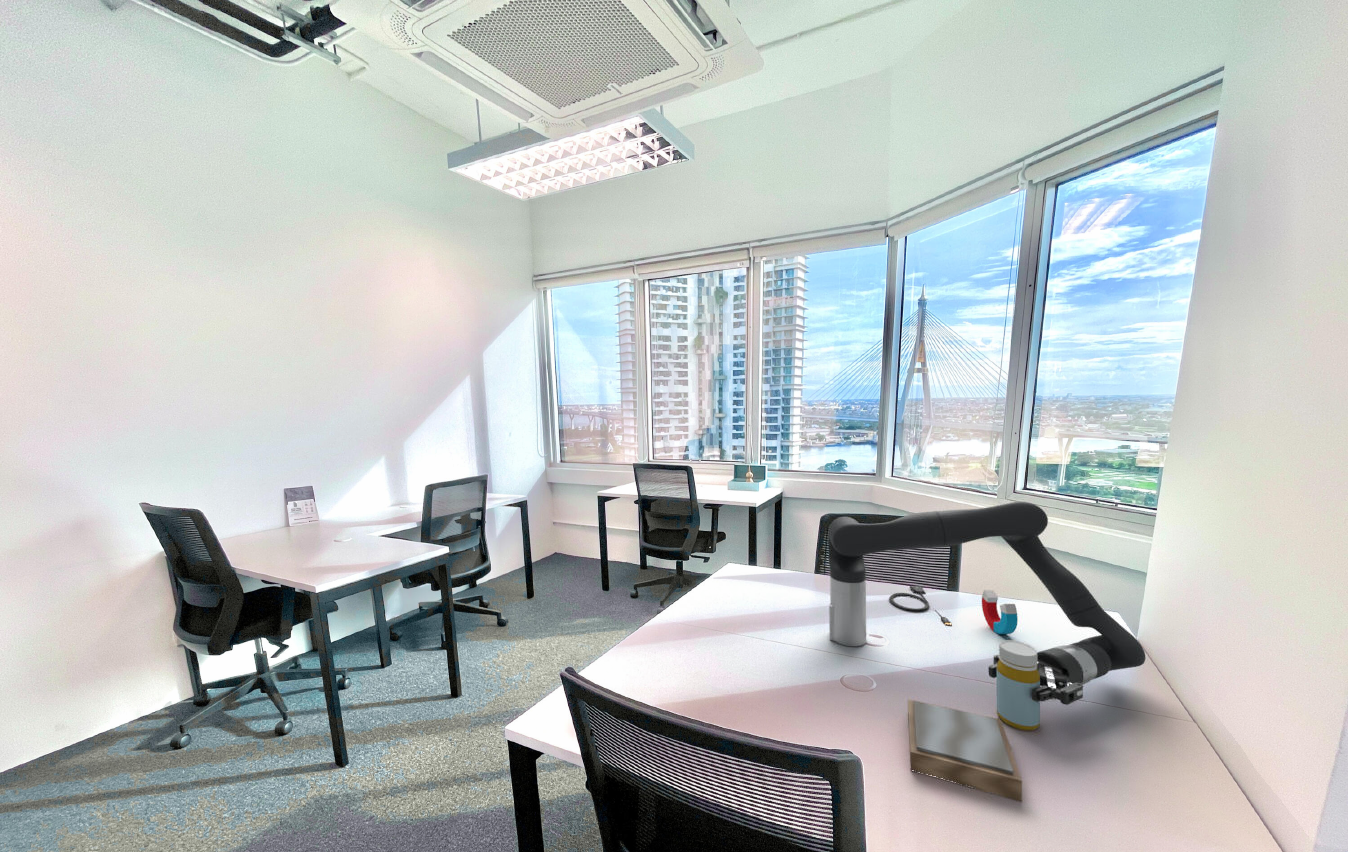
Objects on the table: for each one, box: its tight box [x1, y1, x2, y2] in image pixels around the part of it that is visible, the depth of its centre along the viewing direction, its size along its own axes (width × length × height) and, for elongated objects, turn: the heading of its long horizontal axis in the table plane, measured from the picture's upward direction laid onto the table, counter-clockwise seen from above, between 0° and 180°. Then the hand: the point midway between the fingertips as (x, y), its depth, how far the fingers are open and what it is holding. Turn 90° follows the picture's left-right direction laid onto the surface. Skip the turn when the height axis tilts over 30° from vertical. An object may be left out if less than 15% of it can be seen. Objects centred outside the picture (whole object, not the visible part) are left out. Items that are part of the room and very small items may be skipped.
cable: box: [888, 585, 953, 627], centre depth 150 cm, size 14×28×2 cm, turn 168°
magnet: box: [981, 589, 1019, 635], centre depth 130 cm, size 12×3×10 cm, turn 176°
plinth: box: [907, 699, 1023, 803], centre depth 86 cm, size 16×16×4 cm
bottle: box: [996, 639, 1041, 732], centre depth 94 cm, size 7×7×15 cm
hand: (1011, 683), depth 93 cm, fingers open, 8 cm apart
